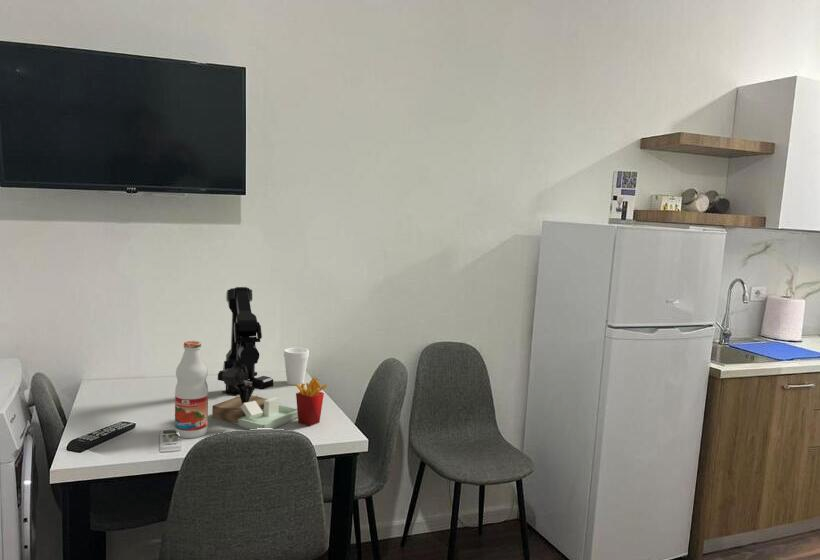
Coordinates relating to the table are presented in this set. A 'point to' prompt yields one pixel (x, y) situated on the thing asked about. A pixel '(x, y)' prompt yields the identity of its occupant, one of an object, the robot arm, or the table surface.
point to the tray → (270, 419)
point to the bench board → (233, 409)
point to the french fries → (309, 402)
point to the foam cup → (296, 364)
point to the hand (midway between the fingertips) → (244, 404)
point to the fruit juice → (191, 393)
